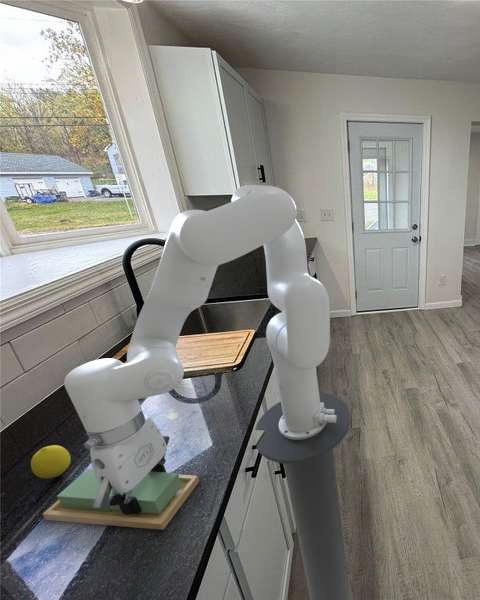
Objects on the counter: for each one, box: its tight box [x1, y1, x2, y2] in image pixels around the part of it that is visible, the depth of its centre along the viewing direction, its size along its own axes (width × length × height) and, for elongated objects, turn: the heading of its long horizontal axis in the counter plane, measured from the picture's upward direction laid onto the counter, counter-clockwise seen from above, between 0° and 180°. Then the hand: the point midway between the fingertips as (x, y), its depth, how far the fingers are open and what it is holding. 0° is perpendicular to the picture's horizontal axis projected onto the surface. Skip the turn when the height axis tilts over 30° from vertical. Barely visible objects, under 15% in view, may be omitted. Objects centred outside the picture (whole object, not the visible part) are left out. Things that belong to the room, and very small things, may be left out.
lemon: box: [30, 444, 72, 479], centre depth 67 cm, size 6×6×8 cm
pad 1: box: [56, 468, 112, 512], centre depth 63 cm, size 10×6×4 cm, turn 85°
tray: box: [42, 468, 200, 531], centre depth 63 cm, size 24×10×2 cm, turn 85°
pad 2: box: [109, 471, 182, 514], centre depth 62 cm, size 10×6×4 cm, turn 85°
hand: (147, 495), depth 62 cm, fingers closed on pad 2, 6 cm apart
